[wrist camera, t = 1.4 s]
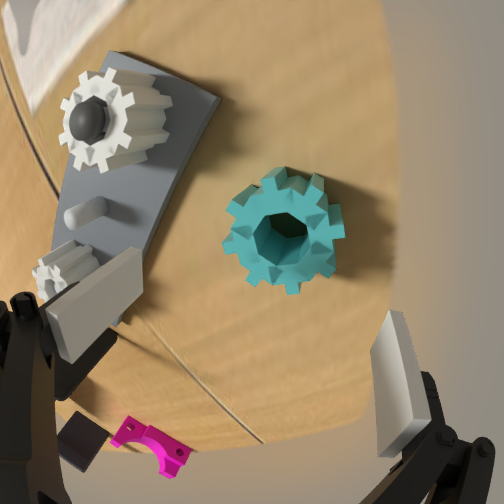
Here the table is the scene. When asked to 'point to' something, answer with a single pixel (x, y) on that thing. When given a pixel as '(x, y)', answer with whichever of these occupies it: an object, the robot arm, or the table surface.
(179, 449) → the magenta mounting bracket
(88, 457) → the calculator
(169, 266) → the table surface
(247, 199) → the teal gear
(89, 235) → the gear board
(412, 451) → the robot arm
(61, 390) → the phone
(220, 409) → the table surface
